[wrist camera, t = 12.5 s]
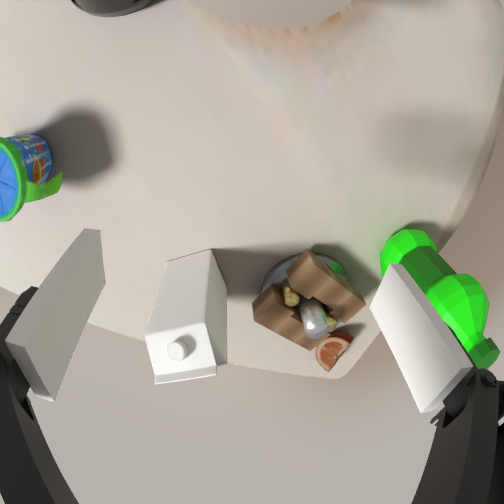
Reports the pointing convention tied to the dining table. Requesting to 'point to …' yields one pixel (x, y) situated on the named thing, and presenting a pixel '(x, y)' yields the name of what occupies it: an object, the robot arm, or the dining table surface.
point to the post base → (289, 262)
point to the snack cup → (24, 173)
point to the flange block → (307, 284)
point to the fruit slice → (332, 349)
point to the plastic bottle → (444, 291)
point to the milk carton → (188, 320)
